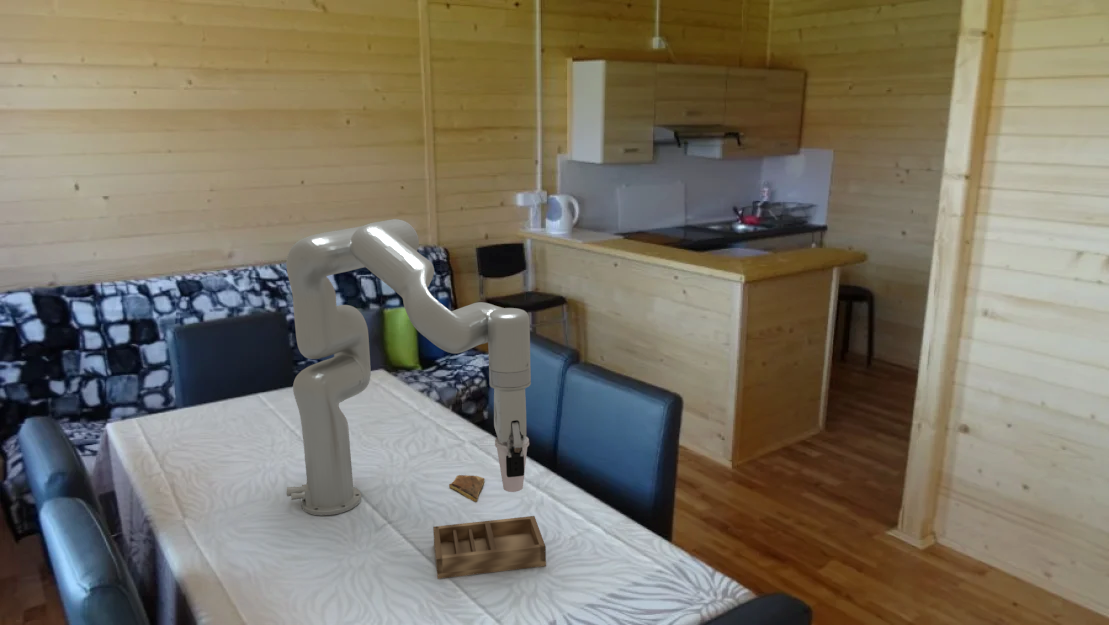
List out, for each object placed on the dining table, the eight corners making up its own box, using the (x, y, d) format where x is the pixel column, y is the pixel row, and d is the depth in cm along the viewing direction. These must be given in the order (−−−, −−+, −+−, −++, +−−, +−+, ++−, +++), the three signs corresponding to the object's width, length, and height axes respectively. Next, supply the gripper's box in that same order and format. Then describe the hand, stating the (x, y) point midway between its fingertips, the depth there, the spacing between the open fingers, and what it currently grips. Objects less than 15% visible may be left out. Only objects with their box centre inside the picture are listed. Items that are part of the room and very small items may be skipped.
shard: (476, 505, 172) (476, 497, 172) (442, 503, 173) (442, 496, 173) (486, 482, 183) (485, 475, 182) (453, 481, 184) (453, 474, 183)
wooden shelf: (437, 578, 144) (436, 559, 143) (434, 545, 155) (433, 526, 154) (545, 565, 147) (545, 546, 146) (534, 533, 159) (534, 515, 158)
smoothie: (495, 480, 152) (493, 412, 149) (529, 479, 152) (527, 410, 149) (496, 496, 146) (494, 424, 142) (531, 494, 146) (529, 423, 143)
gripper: (484, 364, 151) (487, 451, 156) (495, 393, 135) (498, 490, 139) (522, 361, 153) (524, 448, 157) (538, 390, 136) (540, 486, 140)
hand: (512, 467), depth 148 cm, fingers closed on smoothie, 6 cm apart
